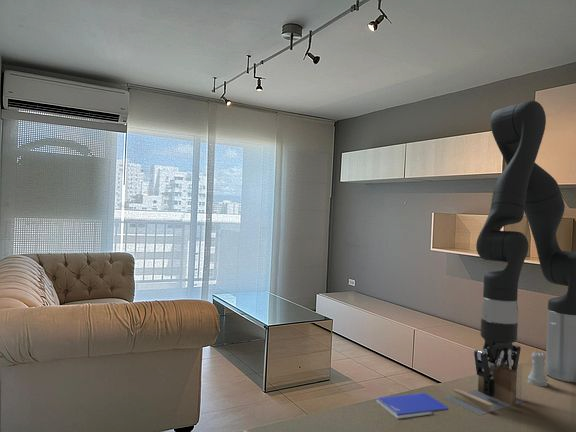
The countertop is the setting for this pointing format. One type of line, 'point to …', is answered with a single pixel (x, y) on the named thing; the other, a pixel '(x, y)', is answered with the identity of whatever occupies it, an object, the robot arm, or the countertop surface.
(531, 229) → the robot arm
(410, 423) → the countertop surface
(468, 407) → the charcoal mat
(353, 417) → the countertop surface
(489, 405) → the beech rail
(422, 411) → the hard drive
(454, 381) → the countertop surface
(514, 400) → the walnut board
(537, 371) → the rook chess piece
